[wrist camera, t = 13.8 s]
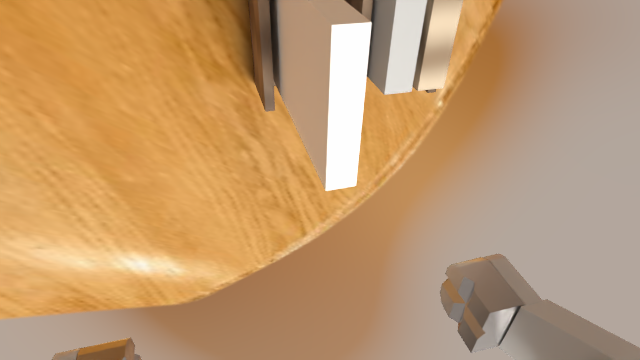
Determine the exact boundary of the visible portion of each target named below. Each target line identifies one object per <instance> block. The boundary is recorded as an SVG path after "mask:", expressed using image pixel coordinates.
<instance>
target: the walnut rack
mask: <svg viewBox="0 0 640 360" xmlns="http://www.w3.org/2000/svg"><path fill="white" fill-rule="evenodd" d="M344 1H346V2H347V3H348V4H349V5H351V6H352V7H353V8H354V9H356V10H357V11H358V12H359V13H361V14H362V15H363V16H365V17H366V18H367V19H368V20H370V21H371V14H372V3H373V0H344ZM248 3H249V15H250V27H251V39H252V51H253V63H254V75H255V85H256V88H257V90H258V93H259V95H260V98H261V101H262V103H263V106H264V109H265V111H275V102H274V86H276V84H275V82H274V80H273V64H272V46H271V27H270V8H269V0H248ZM425 91H426V92H427V93H431V92H436V89H430V90H425Z"/></svg>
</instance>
